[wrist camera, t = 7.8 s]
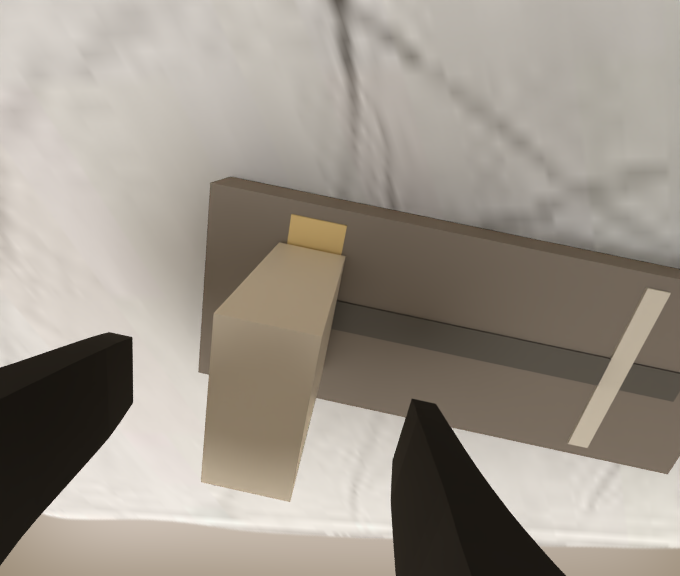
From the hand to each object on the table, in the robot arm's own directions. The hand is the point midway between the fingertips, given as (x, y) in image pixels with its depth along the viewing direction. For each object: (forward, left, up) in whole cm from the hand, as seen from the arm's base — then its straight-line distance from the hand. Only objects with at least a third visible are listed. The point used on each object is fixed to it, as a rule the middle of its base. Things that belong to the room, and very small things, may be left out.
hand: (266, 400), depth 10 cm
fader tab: (0, 0, -5) cm, 5 cm away
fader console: (-6, 0, -8) cm, 10 cm away
